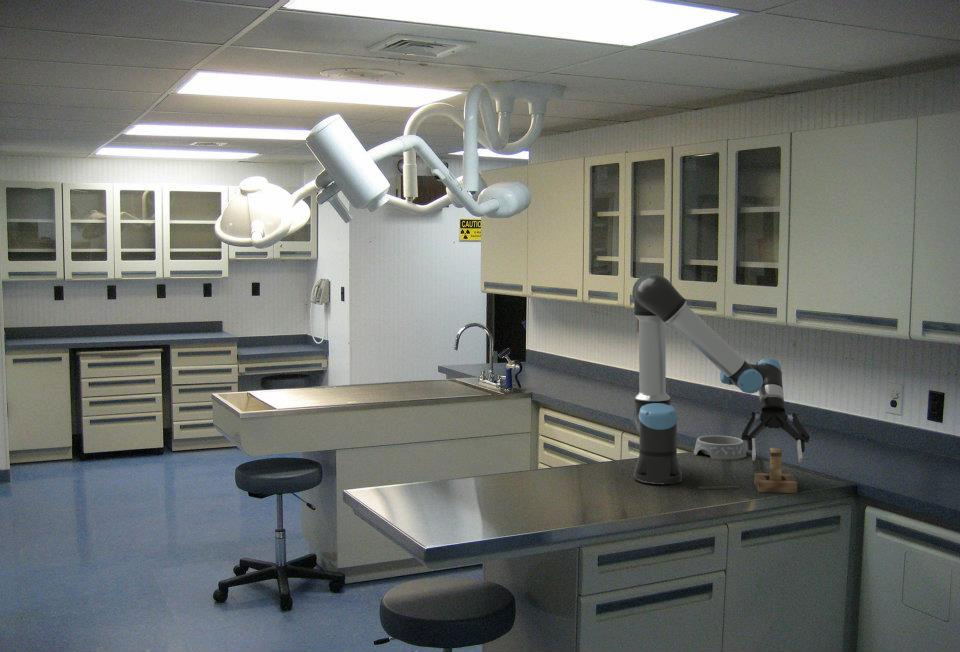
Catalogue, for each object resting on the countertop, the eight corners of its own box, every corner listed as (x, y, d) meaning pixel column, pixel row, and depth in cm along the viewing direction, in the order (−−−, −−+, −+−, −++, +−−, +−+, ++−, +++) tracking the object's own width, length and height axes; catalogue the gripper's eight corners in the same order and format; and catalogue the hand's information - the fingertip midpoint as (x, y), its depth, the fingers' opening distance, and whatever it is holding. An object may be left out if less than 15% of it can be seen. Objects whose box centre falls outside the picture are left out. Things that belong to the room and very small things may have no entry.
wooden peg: (770, 488, 277) (771, 450, 276) (769, 486, 280) (769, 447, 279) (781, 489, 277) (781, 450, 275) (779, 486, 280) (780, 448, 278)
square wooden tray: (758, 491, 274) (759, 482, 274) (754, 482, 285) (754, 473, 284) (797, 493, 272) (797, 483, 272) (790, 483, 283) (791, 473, 283)
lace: (699, 489, 278) (699, 487, 278) (698, 488, 279) (698, 486, 278) (738, 488, 278) (738, 486, 278) (737, 487, 279) (738, 486, 279)
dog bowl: (716, 446, 336) (716, 432, 336) (756, 455, 321) (757, 440, 321) (683, 453, 327) (684, 438, 326) (724, 462, 312) (724, 447, 311)
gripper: (811, 409, 293) (818, 467, 279) (730, 407, 297) (734, 464, 284) (814, 396, 287) (822, 454, 274) (732, 394, 291) (736, 451, 278)
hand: (777, 459), depth 279 cm, fingers open, 13 cm apart
